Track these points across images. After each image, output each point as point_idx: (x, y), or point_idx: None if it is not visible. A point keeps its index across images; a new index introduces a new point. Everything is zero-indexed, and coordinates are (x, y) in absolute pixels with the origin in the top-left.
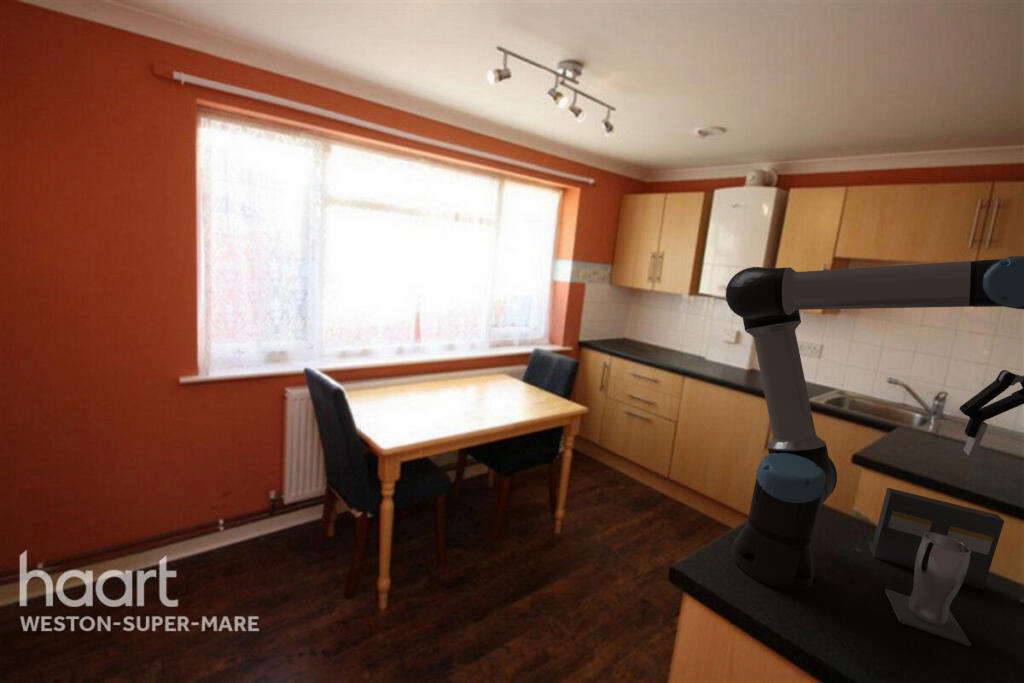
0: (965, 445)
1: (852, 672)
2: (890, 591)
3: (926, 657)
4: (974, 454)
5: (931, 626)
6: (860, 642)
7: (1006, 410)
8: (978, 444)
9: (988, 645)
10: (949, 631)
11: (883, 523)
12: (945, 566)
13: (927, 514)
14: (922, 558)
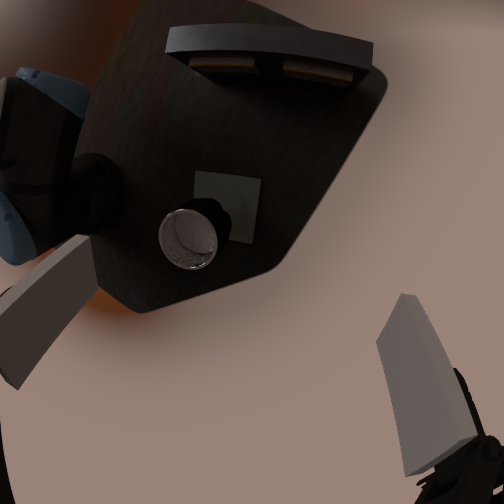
0: (63, 246)
1: (142, 312)
2: (199, 174)
3: (199, 277)
4: (91, 294)
5: None
6: (151, 278)
7: (7, 481)
8: (67, 321)
9: (276, 231)
10: (237, 230)
11: (193, 69)
12: (191, 257)
13: (242, 58)
14: (173, 236)
